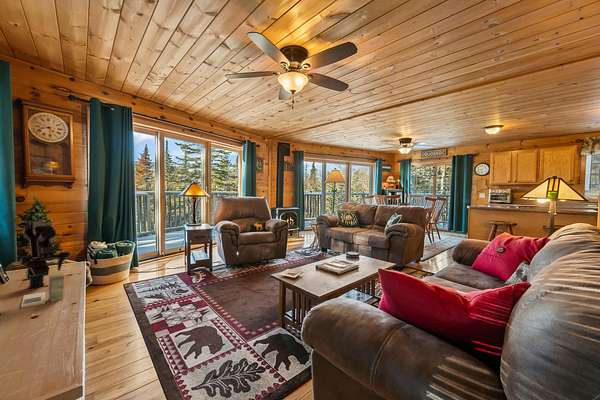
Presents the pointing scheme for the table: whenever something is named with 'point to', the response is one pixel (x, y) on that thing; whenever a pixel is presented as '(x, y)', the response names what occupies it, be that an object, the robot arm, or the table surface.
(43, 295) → the baseplate
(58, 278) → the post
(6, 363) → the table surface
